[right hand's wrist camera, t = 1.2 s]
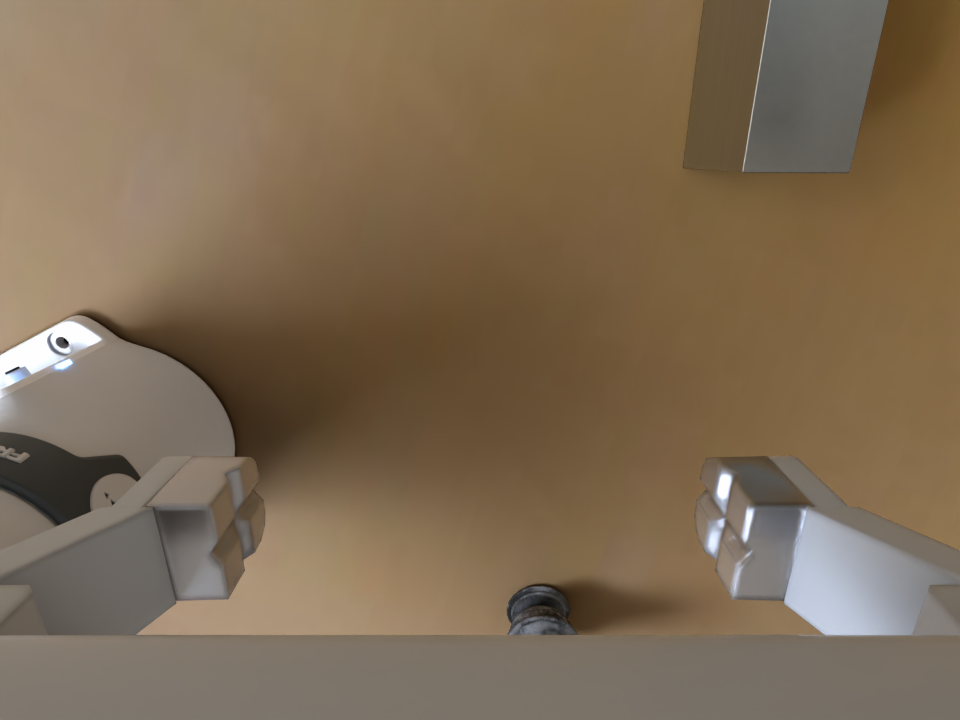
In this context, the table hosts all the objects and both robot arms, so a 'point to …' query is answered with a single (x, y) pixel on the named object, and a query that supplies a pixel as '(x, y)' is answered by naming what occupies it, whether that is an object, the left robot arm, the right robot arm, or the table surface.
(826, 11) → the bar
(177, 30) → the table surface
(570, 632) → the salt shaker
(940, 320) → the table surface
